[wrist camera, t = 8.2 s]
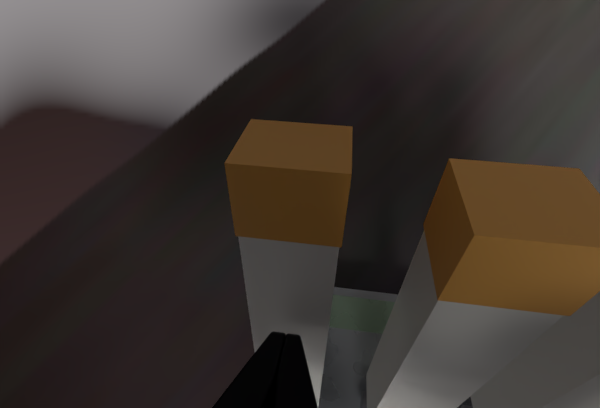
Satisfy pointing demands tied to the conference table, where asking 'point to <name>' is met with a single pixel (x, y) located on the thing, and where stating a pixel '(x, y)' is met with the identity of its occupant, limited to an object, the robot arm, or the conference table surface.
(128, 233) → the conference table surface
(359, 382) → the panel
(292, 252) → the tripped breaker
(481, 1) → the conference table surface
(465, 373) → the grey long bar piece
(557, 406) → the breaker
